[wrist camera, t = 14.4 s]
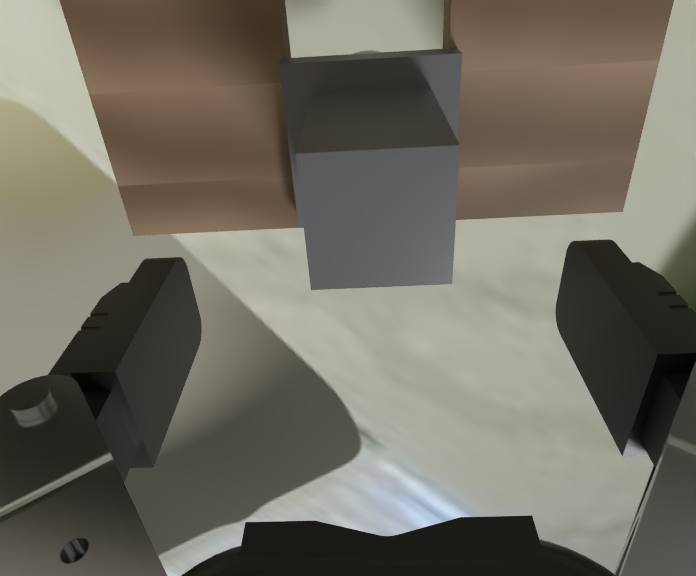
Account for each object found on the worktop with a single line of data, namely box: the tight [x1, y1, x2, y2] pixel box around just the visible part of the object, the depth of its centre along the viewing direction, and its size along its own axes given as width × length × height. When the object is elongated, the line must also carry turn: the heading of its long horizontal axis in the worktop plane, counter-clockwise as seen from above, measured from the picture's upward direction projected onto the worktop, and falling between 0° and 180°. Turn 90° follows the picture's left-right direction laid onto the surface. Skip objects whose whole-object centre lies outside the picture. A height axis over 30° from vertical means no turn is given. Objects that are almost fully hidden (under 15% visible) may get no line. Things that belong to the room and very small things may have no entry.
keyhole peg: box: [279, 48, 462, 290], centre depth 20 cm, size 6×6×13 cm
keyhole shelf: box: [60, 0, 674, 236], centre depth 23 cm, size 13×20×12 cm, turn 93°
